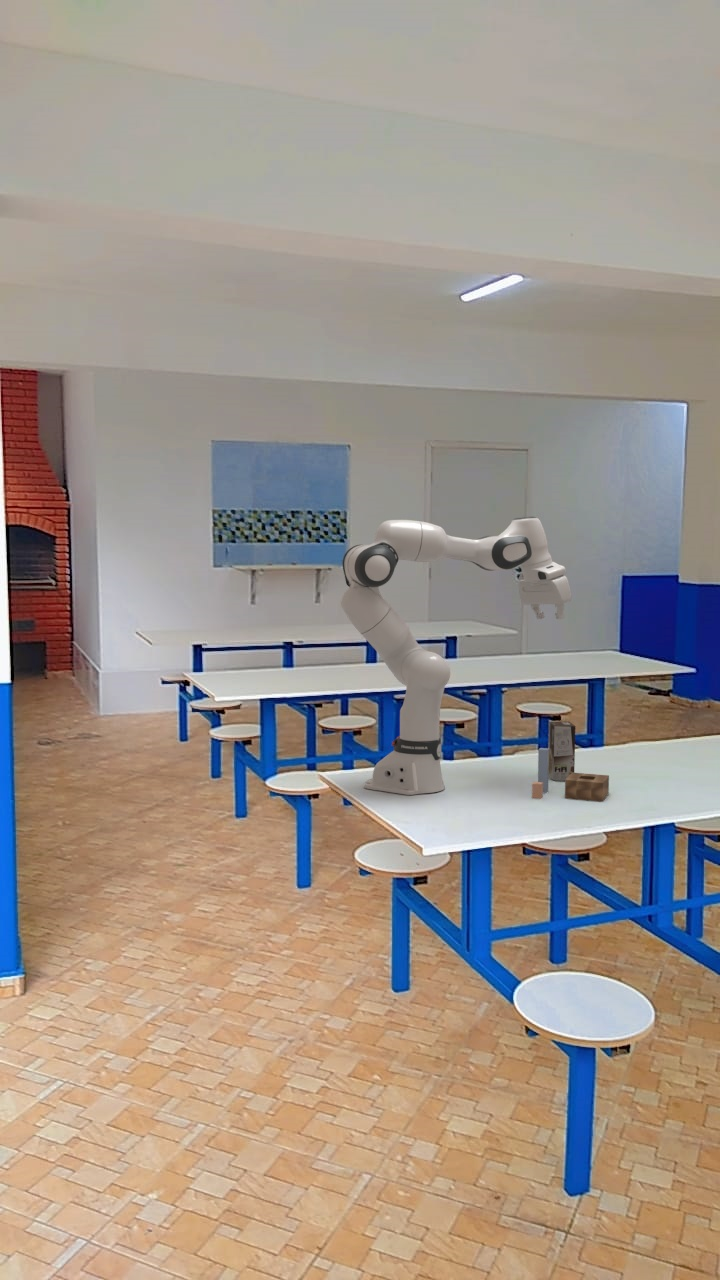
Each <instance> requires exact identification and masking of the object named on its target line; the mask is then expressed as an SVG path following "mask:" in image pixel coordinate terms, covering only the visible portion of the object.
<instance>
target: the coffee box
mask: <svg viewBox="0 0 720 1280" xmlns="http://www.w3.org/2000/svg"><path fill="white" fill-rule="evenodd" d="M548 748H549V777H550V778H551V780H552V781H558V782H559V781H562V782H563V781H564V782H565V780H566V778H567V777H568V776H569V775H570V774H571V773H575V759H576V758H575V757H576V753H575V752H576V751H575V750H576V726H575V724H573V723H572V722H570V721H566V720H565V721H549V722H548Z"/></svg>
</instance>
